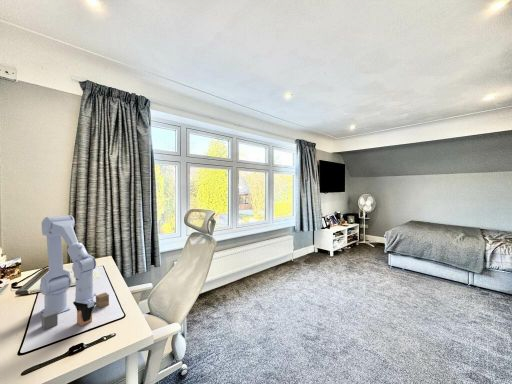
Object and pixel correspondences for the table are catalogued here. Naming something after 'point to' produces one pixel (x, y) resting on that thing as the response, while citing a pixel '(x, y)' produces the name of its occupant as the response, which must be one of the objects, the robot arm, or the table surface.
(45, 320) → the charcoal block
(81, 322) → the terracotta block
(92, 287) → the robot arm
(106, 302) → the walnut block
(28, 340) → the table surface
